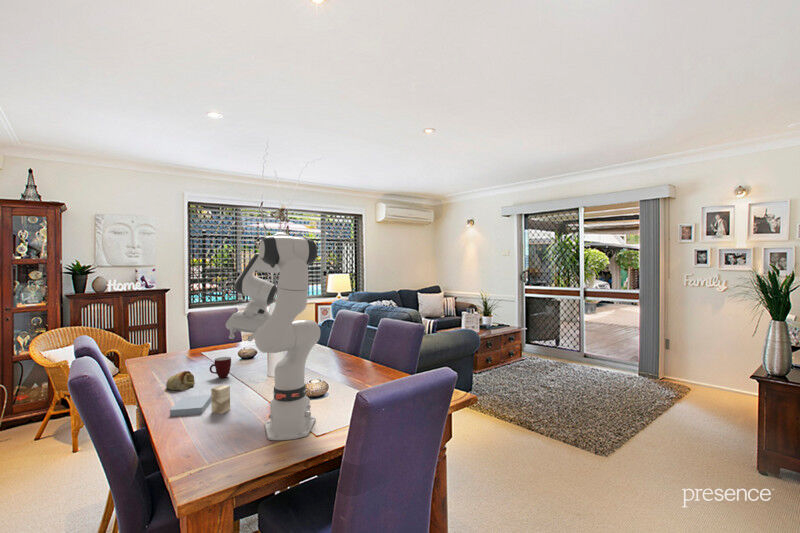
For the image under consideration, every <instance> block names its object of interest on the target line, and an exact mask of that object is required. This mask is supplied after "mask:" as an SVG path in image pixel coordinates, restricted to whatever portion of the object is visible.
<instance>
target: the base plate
mask: <svg viewBox="0 0 800 533" xmlns="http://www.w3.org/2000/svg"><path fill="white" fill-rule="evenodd" d="M210 404H211V394H206V395H205V394H204V395H202V394H201V395H191V396H188V395H187V396H182V397H181V398H180V399H179V400H178V401H177V402H176V403H175V404H174V405H173V407H171V408H170V409H169V417H175V416H176V417H177V415H178V416H179V415H180V416H189V415H190V416H191V415H192V416H193V415H200V414H201V415H202V414H203V413H204V412H205V410H206V409H207V408H208V406H210Z"/></svg>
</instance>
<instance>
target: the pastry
mask: <svg viewBox="0 0 800 533" xmlns="http://www.w3.org/2000/svg"><path fill="white" fill-rule="evenodd" d="M195 383H196V382H195V375H194V374H193V373H192V372H191V371H188V370H184V371H181V372H178V373H175V374H174V375H172V376H170V377H169V378H168V379H167V381H166V384H165V386H166V388H167V389H168V390H171V391H177V390H181V391H182V392H183V391H186V390H188V389H190V388H192V387H194V385H195Z"/></svg>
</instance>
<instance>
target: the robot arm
mask: <svg viewBox="0 0 800 533" xmlns="http://www.w3.org/2000/svg"><path fill="white" fill-rule="evenodd" d="M317 256H318V245H317V243H316V242H315V240H313V239H310V238H307V237H304V238H302V237H297V236H296V237H295V236H291V235H289V234H288V233H286V232H276V233H275V234H273V235H269V236H264V237H263V238H262V239H261V240H260V243H259V247H258V252H257V253H256V254H254V255H253V257H251V259H250V260H249V262H248V263H247V265H246V266H245V268H244V269H243V271H242V273H240V274H239V275H238V277H237V278H236V280H235V282H234V286H233V287H234V289H235V291H236V293H237V294H241V295H242V296H243V295H244V296H247V297H249V298H250V301H249V302H248V303H247V304H246V306H245V308H244V309H243V311H236V312H234V313H232V314H231V316H230V317H229V318H228V319H227V321H226V323H225V328H226V329H227V330H228V331H229V336H228V338H229V339H230V340H234V339H235V337H236V336H235V334H234V333H236V332H243V333H251V335H248V336H247V338H246V340H247V342H252V341H253V339H254V344H255V346H256V348H257V349H258V351H259V352H261V353H263V354H276V353H282V352H286V353H285V356H284V357H283V358H282V359H281V360H280V361H278V362H277V363H276V365H275V367H274V387H273V390H272V393H273V399H272V400H271V401H269V402H270V403H269V404H270V405H269V407H270V411H269V412H270V414H268V420H265V421H264V428H265V432H266V437H267V440H271V441H286V440H287V441H288V440H296V439H301V438H304V437H307V436H309V434H310V433H311V430H312V428H313V425H314V424H315V422H316V417H315V416H314V415H312V413H311V400H310V398H309V397H308V396H307V385H306V383H305V375H306V374H305V372H306V363H307V360H308V356H309V354H310V352H311V350H312V349H313V347H314V346H315V345H316V344H317V343H318V342H319V340H320V338H321V328H320V325H319V324H318V323H317V321H315V320H311V319H310V320H309V319H297V320H295V319H296V317H298V316H299V314H300V315H301V313H303V312H304V310H306V308H307V304H308V292H309V265H312V264H313V263H314V262H315V261H316V260H317ZM257 271H258V272H265V273H269V274H279V275H278V282H277V286H276V284H274V283H272V282H271V281H269V280H266V279H264V278H260V277H259V276H256V275H254V272H257ZM275 298H276V300H275ZM274 300H275V304H274V308H273V310H272V313H271V315H270V313H269V312H268V311H267V308H268V306H270V305H271V304H273V302H274Z"/></svg>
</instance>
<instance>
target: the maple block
mask: <svg viewBox="0 0 800 533" xmlns="http://www.w3.org/2000/svg"><path fill="white" fill-rule="evenodd" d="M210 393H211V394H210V395H211V402H210V404H211V413H212V414H220V415H223V414H224V413H227V412H229V411H230V410H231V386H230V385H224V384H220V385H217V386H215V387H211V389H210Z"/></svg>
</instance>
